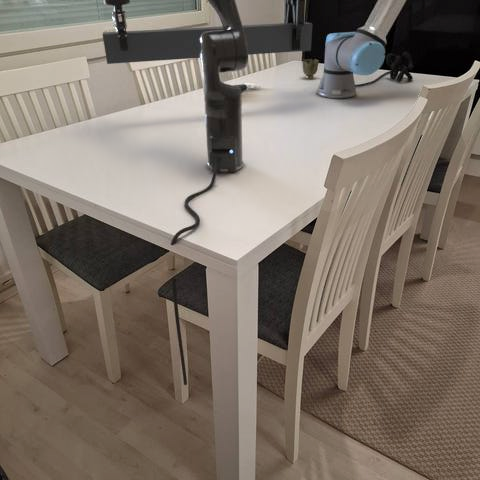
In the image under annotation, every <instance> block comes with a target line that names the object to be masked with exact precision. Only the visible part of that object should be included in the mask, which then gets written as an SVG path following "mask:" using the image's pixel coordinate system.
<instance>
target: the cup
mask: <svg viewBox="0 0 480 480" xmlns="http://www.w3.org/2000/svg"><path fill="white" fill-rule="evenodd" d="M319 62H320V60H319V59H316V58H315V59H312V58H310V59H309V58H306V59H302V62H301V63H302V73H303V74H304V75H305V79H307V80H313V79H314V78H315V77H314V75H316V74H317V72H318V67H319V64H320V63H319Z"/></svg>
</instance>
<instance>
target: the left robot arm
mask: <svg viewBox="0 0 480 480" xmlns="http://www.w3.org/2000/svg"><path fill="white" fill-rule="evenodd" d="M206 1H207V2H208V3H209V4H210V5H211V7H212V8H213V9H214V11H215V13H216V14H217V16H218V18H219V20H220V22H221V25H222V26H223V28H224V30H216V31H206V32H204V33H202V35H201V37H200V42H199V53H200V58H199V62H200V69H201V79H202V80H201V81H202V91H203V98H204V100H203V101H204V116H205V117H204V118H205V133H206V134H205V135H206V151H207V152H206V153H207V168H208V169H209V170H211V172H212V176H211V181H210V183H209V185H208V186H207V187H206V188H204V189H203V190H200V191H198V192H195V193H193V194H190V195H188V197H186V199H184V207H185V208H186V210H187V211H188V212H189V213H190V214H191V215H192V216H193V217H194V218H195V223H194V224H192V225H190V226H186V227H183V228H181V229H179V230H178V231H177V232H176V233H175V234H174V236H173V238H172V240H171V241H170V246H174V245H176V243H177V240H178V238H180V236H181V235H182V234H184V233H186V232H189V231H192V230H194V229H196V228H197V227H199V226H200V222H201V218H200V215H198V213H197V212H196V211H195V210H194V209H193V208H192V207H190V205H189V201H190V200H191V199H194V198H196V197H198V196H200V195H202V194H205V193H206V192H208V191H210V190H211V189H212V187H213V186H214V184H215V181H216V179H217V178H216V177H217V173H237V171H239V170H240V169H242V168H243V166H244V160H243V114H242V113H243V109H242V108H243V106H242V105H243V104H242V103H243V102H242V101H243V100H242V99H243V98H242V96H243V95H242V94H243V93H242V94H241V90H240V89H239V88H238V87H236V86H232V84H229V83H225V82H224V81H222V80H221V77H220V74H224V73H233V72H240V71H243V70H245V69H246V68H247V66H248V62H249V55H248V46H247V41H246V37H245V33H244V29H243V26H242V25H243V23H242V19H241V16H240V13H239V8H238V6H237V2H236V0H206ZM103 4H104V5H105V6H113V11H111V17H112V19H113V23H114V28H115V29H116V30H115V31H116V32H118V37H119V41H120V48H121V50H122V51H126V50H128V44H127V32H126V31H127V28H128V25H127V12H126V11H125V10H123V6H124V5H129V4H131V0H103ZM171 280H172V281H171V283H172V299H173V308H174V317H175V325H176V326H175V328H176V334H177V342H178V349H179V356H180V363H181V371H182V372H181V373H182V380H183V385H184V386H187V385H188V380H187V378H188V377H187V371H186V370H187V369H186V362H185V354H184V347H183V340H182V331H181V324H180V323H181V322H180V313H179V303H178V292H177V278H172V279H171Z"/></svg>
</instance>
